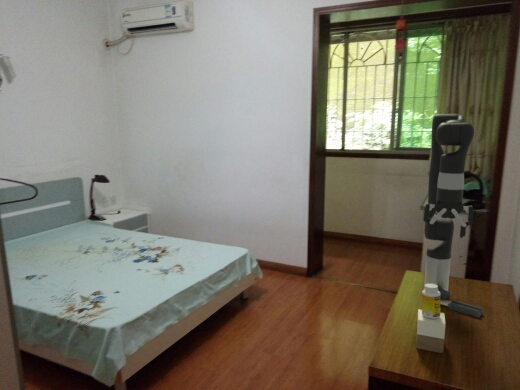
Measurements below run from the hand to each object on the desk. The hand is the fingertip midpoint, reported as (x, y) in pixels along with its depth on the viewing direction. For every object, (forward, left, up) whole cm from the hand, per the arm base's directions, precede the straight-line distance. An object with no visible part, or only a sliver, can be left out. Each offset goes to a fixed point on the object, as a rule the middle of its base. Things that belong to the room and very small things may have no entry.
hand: (446, 236), depth 127 cm
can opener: (-26, +7, -36) cm, 45 cm away
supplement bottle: (+5, -3, -26) cm, 27 cm away
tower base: (+5, -3, -36) cm, 37 cm away
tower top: (+5, -3, -31) cm, 32 cm away
